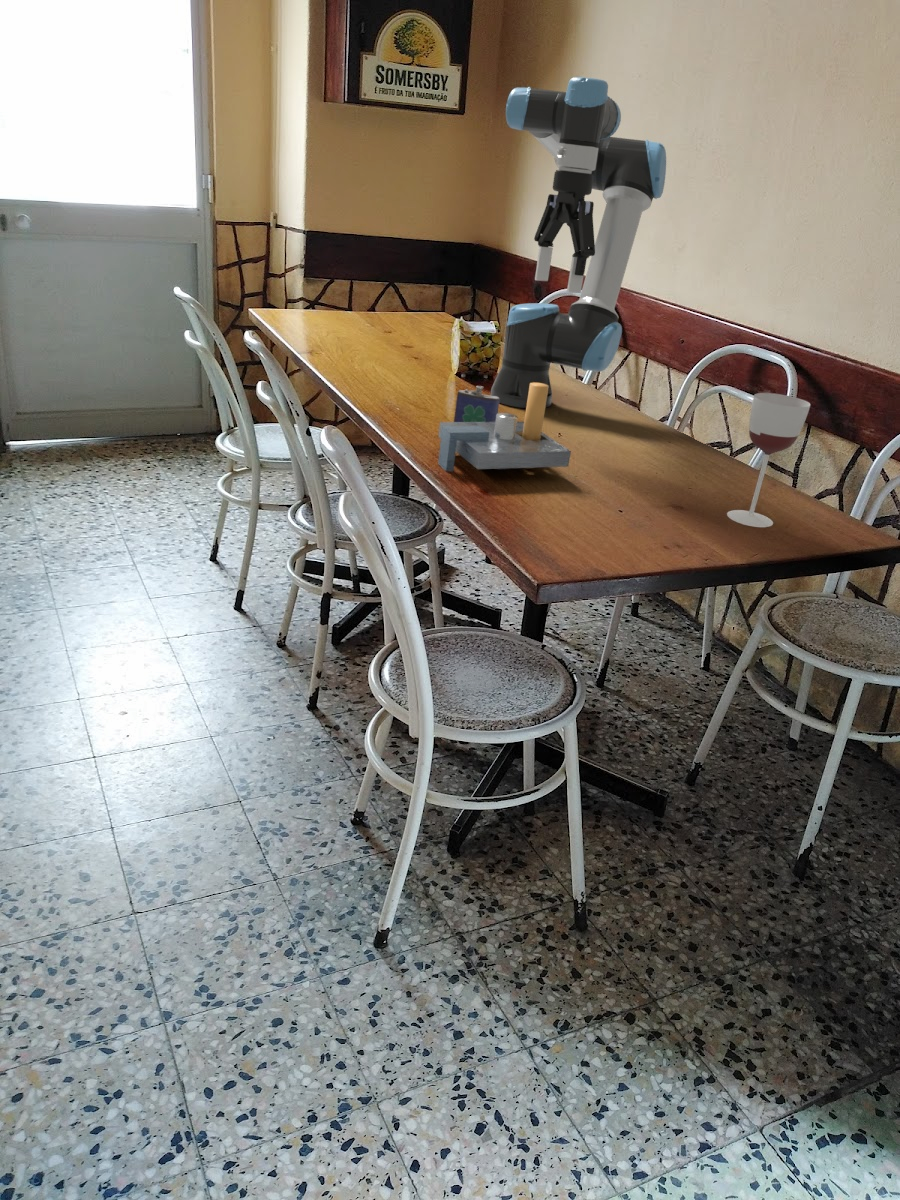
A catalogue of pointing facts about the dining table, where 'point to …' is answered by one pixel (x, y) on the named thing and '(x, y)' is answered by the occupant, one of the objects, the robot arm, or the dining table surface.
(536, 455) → the grey plate
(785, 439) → the wineglass
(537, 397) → the light orange cylinder
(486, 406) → the flask
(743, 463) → the dining table surface
